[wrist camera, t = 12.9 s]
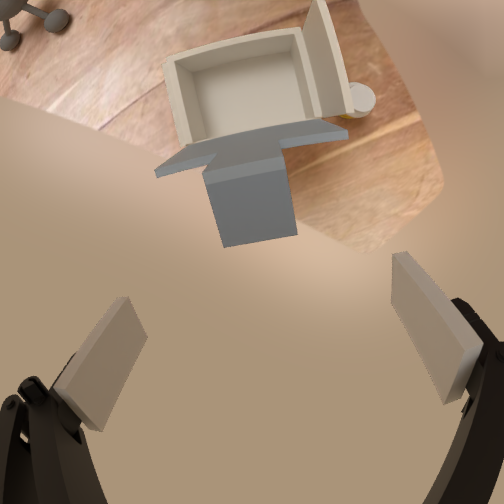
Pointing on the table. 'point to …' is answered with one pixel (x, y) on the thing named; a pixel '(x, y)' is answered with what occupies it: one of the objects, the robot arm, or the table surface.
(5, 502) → the robot arm
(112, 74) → the table surface
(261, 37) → the carton
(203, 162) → the flap
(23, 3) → the molecular model
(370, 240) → the table surface
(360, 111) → the supplement bottle
